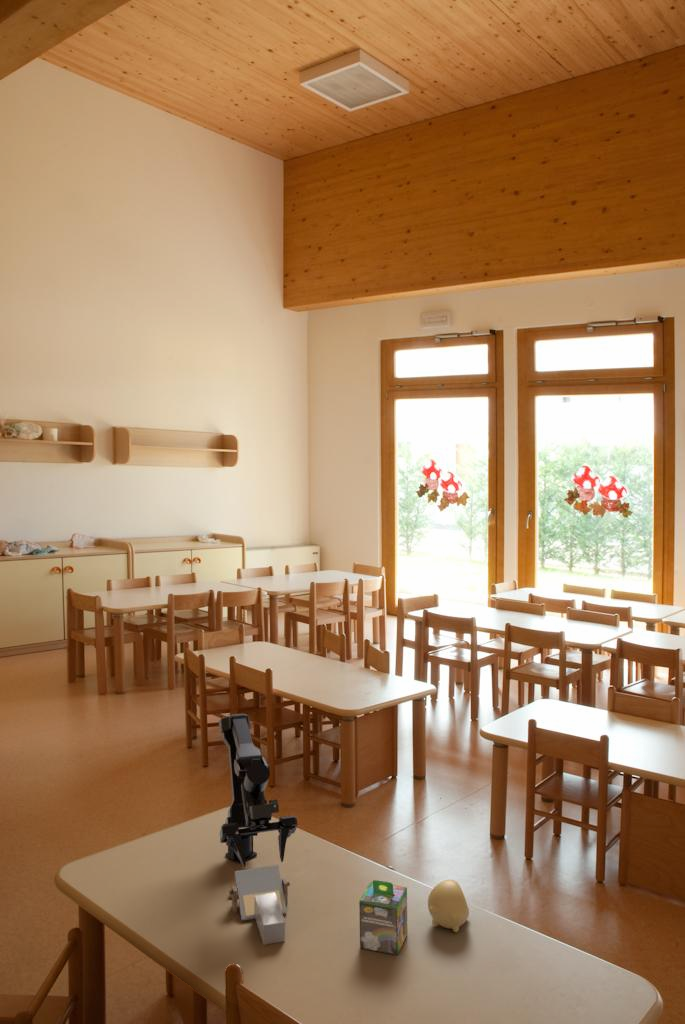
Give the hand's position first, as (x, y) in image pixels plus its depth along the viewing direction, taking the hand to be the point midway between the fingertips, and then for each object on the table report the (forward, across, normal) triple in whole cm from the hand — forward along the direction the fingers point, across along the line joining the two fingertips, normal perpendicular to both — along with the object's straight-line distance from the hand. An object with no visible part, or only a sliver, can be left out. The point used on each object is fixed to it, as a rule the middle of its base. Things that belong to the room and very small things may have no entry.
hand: (263, 864), depth 202 cm
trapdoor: (+4, 0, +13) cm, 13 cm away
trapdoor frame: (+4, 0, +14) cm, 15 cm away
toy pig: (+21, +42, -2) cm, 47 cm away
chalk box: (+22, +24, -3) cm, 33 cm away
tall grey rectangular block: (+7, 0, +6) cm, 9 cm away
